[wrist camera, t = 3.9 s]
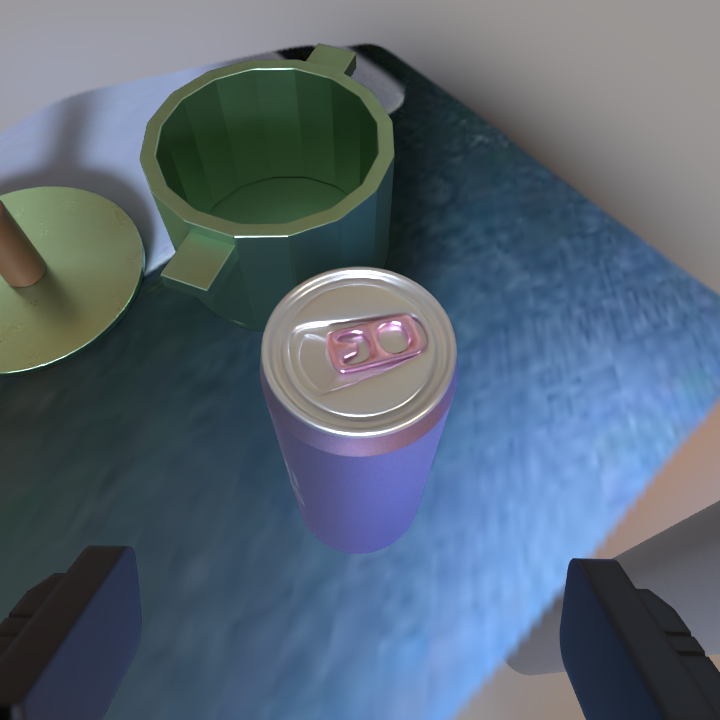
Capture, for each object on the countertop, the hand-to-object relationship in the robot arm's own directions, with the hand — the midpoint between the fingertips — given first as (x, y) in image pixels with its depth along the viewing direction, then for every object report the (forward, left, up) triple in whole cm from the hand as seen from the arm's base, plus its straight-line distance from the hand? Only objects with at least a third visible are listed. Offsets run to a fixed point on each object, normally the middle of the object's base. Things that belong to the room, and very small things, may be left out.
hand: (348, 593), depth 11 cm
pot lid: (+25, -12, -17) cm, 33 cm away
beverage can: (+2, -7, -18) cm, 20 cm away
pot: (+12, -20, -18) cm, 29 cm away
